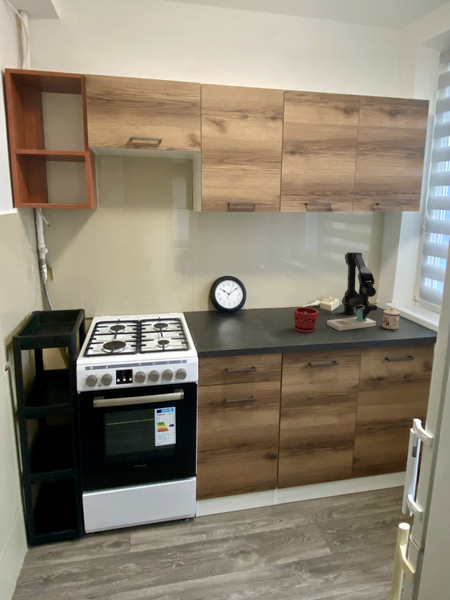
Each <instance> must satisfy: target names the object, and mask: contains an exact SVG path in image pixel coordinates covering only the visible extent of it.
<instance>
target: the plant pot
mask: <svg viewBox="0 0 450 600" xmlns="http://www.w3.org/2000/svg"><path fill="white" fill-rule="evenodd" d="M318 316H319V311H318V310H316V309H314V308H311V307H301V306H300V307H296V308H295V309H294V313H293V320H294V326H293V327H294V329H295V330H296V332H300V333H306V334H307V333H312V332H314V331H315V330H316V327H315V326H316V324H317V321H318V318H319V317H318Z"/></svg>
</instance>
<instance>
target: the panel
mask: <svg viewBox="0 0 450 600" xmlns="http://www.w3.org/2000/svg"><path fill="white" fill-rule="evenodd" d="M356 318H357V316H355V317H354V316H353V317H345V318H338V319H329V320H326V325H327V326H329V327H331V328H333V329H335V330H337V331H339V332H341V331H347V330H348V331H349V330H353V329H354V330H355V329H363V328H368V327H369V328H370V327H371V328H372V327H375V326H376V327H377V321H375V320H374V319H371V318H369V317H367V318H366V321H362V322H360V321H358V320H356Z"/></svg>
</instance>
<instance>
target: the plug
mask: <svg viewBox="0 0 450 600" xmlns="http://www.w3.org/2000/svg"><path fill="white" fill-rule="evenodd" d="M363 308H364V307H363ZM363 308H360V309H357V311H356V317H357V318H356V320H358V321H360V322H362V321H366V318H368V316H367V317H366V318H365V319H363V310H362V309H363Z"/></svg>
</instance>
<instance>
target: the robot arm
mask: <svg viewBox="0 0 450 600" xmlns="http://www.w3.org/2000/svg"><path fill="white" fill-rule="evenodd" d="M344 260H345V264H346V265H347V289H346V291H345V292H344V295H343V297H342V299H341V304H342V305H343V311H341V313H342V314H343V315H346V316H352V315H357V309H360V308H363V309H362V310H363V319H365V318H366V317H367V318H368V315H369V313H370V312H371V311H372V312H373V311H378V306H377V304H374V303H371V302H370V301H369V298H372V297H374V296H376V293H377V290H376V288H375V287H374V285H375V278H374V275H373V273H372V271H371V269H369V268H367V267H368V266H366V262H365V260H364V258H363V253H362V252H358V251H357V252H353V251H352V252H351V251H349V252H348V251H347V252H346V253H345V255H344ZM356 270H357V271H358V273H357V279H358V283H359V286H358V292H357V291H356V272H357V271H356ZM355 310H356V313H355Z"/></svg>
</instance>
